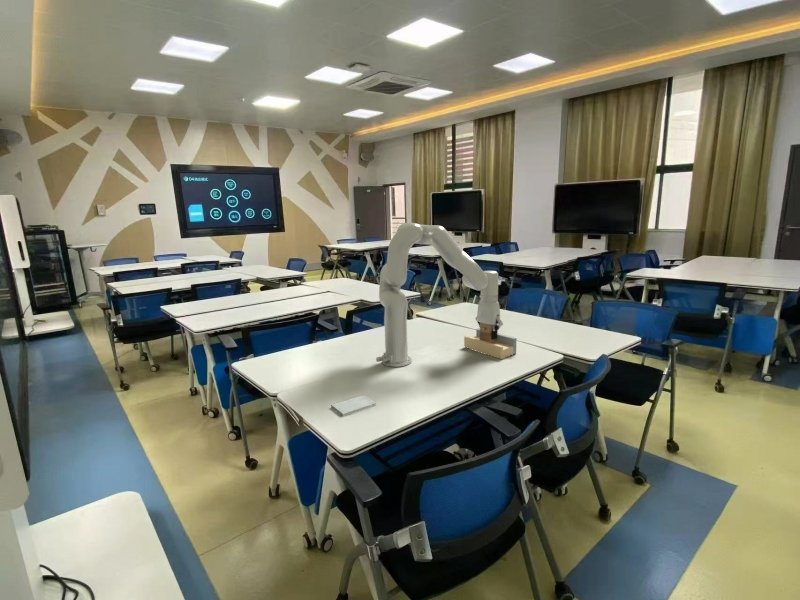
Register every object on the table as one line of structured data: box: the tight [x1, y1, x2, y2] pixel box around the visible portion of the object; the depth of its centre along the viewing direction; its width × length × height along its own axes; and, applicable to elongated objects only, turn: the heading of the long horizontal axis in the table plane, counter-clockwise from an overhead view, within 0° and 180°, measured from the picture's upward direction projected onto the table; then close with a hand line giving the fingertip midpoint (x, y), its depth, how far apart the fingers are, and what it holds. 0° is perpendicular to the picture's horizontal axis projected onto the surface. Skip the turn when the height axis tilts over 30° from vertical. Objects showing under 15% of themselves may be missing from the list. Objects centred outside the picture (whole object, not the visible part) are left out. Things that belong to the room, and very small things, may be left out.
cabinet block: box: [479, 322, 499, 343], centre depth 184 cm, size 6×6×9 cm
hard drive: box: [330, 394, 377, 417], centre depth 135 cm, size 2×8×12 cm
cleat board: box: [463, 327, 517, 360], centre depth 186 cm, size 10×22×8 cm, turn 36°
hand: (488, 336), depth 185 cm, fingers closed on cabinet block, 6 cm apart
